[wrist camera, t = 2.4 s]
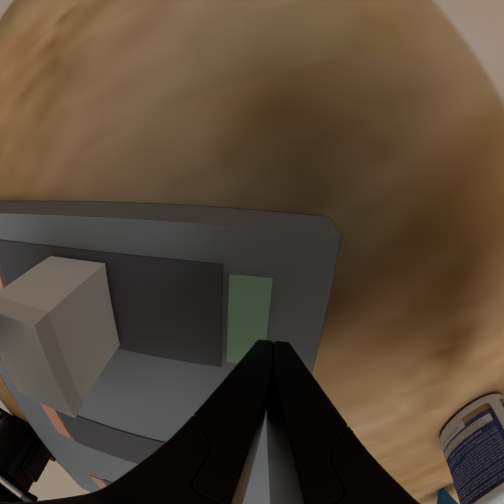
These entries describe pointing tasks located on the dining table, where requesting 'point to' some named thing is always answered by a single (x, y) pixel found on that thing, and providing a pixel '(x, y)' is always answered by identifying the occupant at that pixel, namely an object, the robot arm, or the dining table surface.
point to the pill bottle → (477, 451)
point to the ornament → (445, 498)
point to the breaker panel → (171, 315)
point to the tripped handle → (57, 331)
